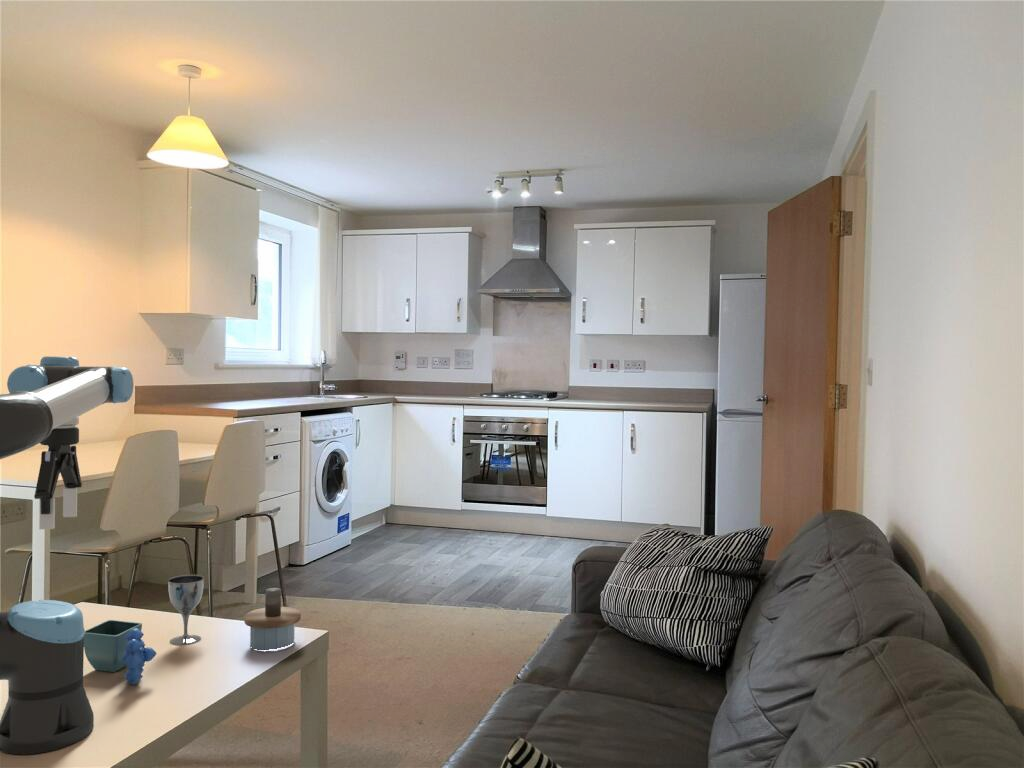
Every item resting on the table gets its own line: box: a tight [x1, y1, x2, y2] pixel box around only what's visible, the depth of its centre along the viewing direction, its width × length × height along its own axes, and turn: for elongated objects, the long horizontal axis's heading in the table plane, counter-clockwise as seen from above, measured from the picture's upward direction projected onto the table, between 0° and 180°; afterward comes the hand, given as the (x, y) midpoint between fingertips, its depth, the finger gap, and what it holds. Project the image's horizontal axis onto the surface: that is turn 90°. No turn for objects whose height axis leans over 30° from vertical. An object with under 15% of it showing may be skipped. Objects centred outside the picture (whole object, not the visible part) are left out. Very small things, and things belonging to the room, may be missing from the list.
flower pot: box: [84, 619, 143, 673], centre depth 174 cm, size 9×9×9 cm
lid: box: [244, 587, 302, 629], centre depth 190 cm, size 13×13×7 cm
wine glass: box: [167, 574, 205, 646], centre depth 192 cm, size 8×8×15 cm
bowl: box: [249, 623, 296, 650], centre depth 190 cm, size 10×10×6 cm
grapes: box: [122, 628, 157, 686], centre depth 166 cm, size 12×7×12 cm, turn 22°
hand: (59, 522), depth 174 cm, fingers open, 13 cm apart
